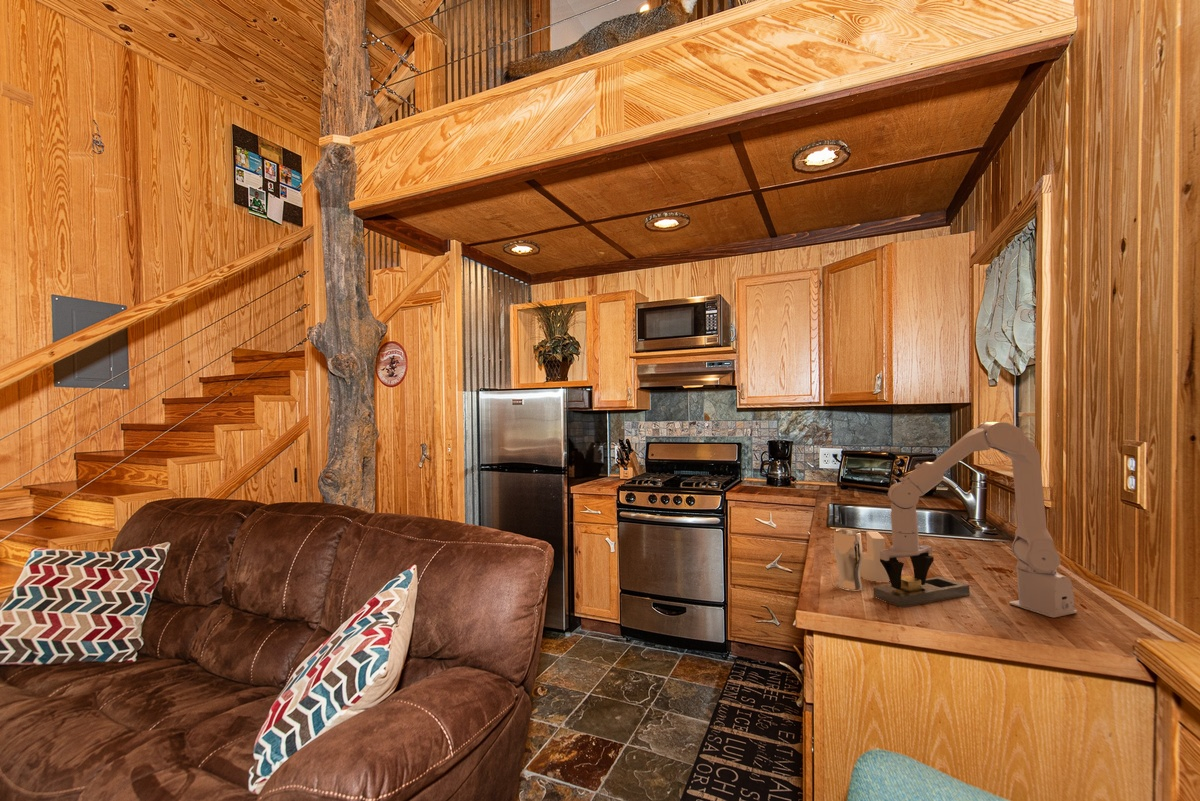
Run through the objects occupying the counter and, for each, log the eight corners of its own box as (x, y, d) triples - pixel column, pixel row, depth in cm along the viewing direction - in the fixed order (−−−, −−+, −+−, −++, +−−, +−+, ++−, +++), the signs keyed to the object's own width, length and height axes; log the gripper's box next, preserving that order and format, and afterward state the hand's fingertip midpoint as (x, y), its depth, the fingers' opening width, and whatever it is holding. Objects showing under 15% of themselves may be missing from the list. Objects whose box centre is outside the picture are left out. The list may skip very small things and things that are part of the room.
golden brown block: (922, 600, 129) (921, 579, 129) (909, 602, 128) (908, 581, 128) (908, 595, 133) (907, 575, 133) (896, 597, 132) (894, 577, 132)
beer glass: (830, 586, 142) (827, 530, 143) (850, 582, 145) (846, 527, 145) (850, 593, 136) (847, 535, 136) (871, 589, 138) (867, 532, 139)
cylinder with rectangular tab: (899, 583, 142) (897, 538, 143) (863, 581, 145) (861, 538, 145) (891, 573, 151) (888, 531, 151) (857, 572, 153) (854, 531, 154)
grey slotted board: (940, 585, 139) (940, 576, 139) (969, 595, 131) (969, 585, 131) (873, 597, 132) (873, 587, 133) (900, 607, 125) (899, 597, 125)
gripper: (913, 525, 137) (917, 577, 137) (869, 531, 133) (872, 584, 133) (938, 530, 130) (941, 585, 130) (891, 536, 126) (895, 593, 126)
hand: (908, 585), depth 131 cm, fingers open, 7 cm apart
